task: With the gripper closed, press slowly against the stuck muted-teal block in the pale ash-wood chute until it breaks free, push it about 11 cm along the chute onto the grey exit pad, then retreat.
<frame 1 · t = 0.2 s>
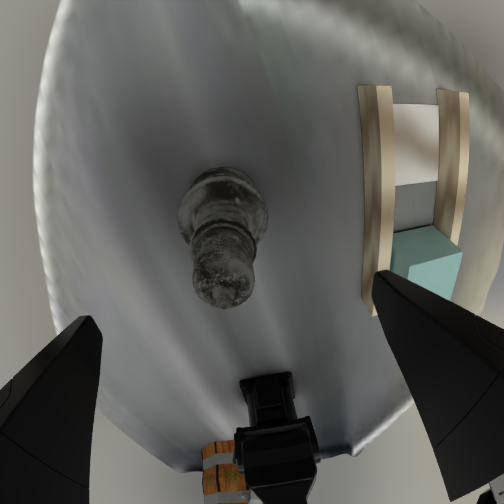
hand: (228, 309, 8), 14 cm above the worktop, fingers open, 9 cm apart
chute: (408, 198, 23), on the worktop
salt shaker: (222, 200, 22), on the worktop
mug: (238, 444, 45), on the worktop
jammed block: (418, 271, 24), point 3 cm above the worktop, slide at 0.0 cm
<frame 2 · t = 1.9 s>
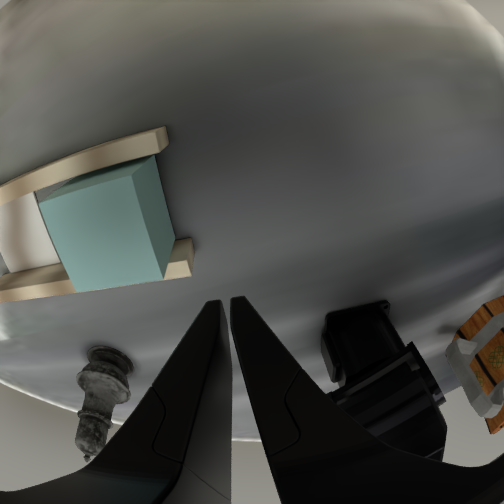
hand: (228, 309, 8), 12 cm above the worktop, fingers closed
chute: (59, 221, 19), on the worktop
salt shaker: (110, 361, 27), on the worktop
mug: (469, 330, 31), on the worktop
jammed block: (112, 222, 16), point 3 cm above the worktop, slide at 0.0 cm
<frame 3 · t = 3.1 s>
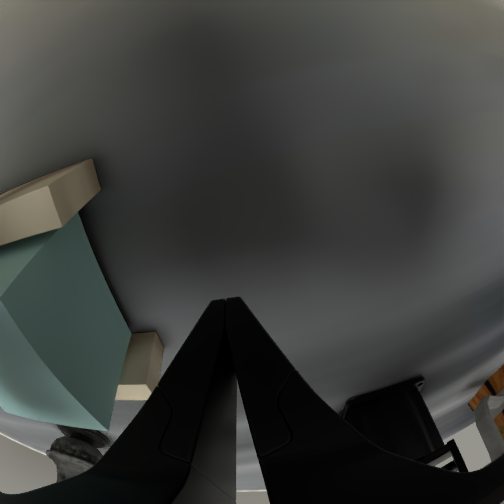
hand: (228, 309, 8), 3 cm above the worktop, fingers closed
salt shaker: (83, 431, 19), on the worktop
mug: (496, 377, 24), on the worktop
jammed block: (27, 326, 8), point 3 cm above the worktop, slide at 0.0 cm
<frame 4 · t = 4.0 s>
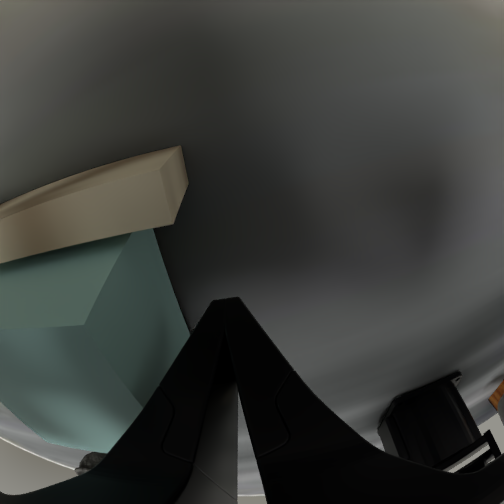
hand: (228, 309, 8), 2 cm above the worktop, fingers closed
chute: (14, 303, 10), on the worktop
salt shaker: (114, 445, 18), on the worktop
jammed block: (78, 345, 8), point 3 cm above the worktop, slide at 0.4 cm, touching gripper
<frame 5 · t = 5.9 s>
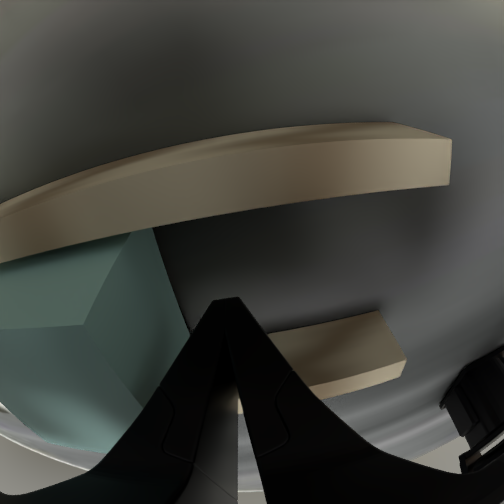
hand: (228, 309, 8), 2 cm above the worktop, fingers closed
chute: (126, 288, 10), on the worktop
jammed block: (78, 345, 8), point 3 cm above the worktop, slide at 7.1 cm, touching gripper
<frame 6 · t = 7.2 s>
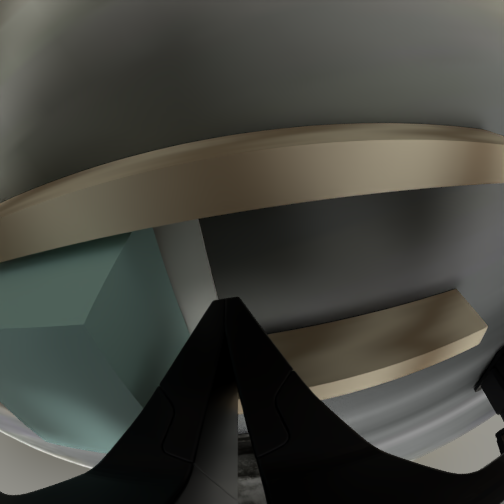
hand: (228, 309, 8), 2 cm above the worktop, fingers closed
chute: (254, 268, 10), on the worktop
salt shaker: (247, 444, 18), on the worktop
jammed block: (78, 345, 8), point 3 cm above the worktop, slide at 11.9 cm, touching gripper
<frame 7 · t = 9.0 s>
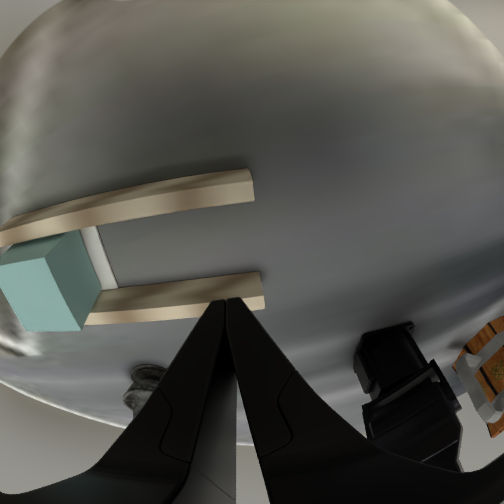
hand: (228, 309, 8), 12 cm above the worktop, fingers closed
chute: (122, 249, 20), on the worktop
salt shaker: (154, 377, 29), on the worktop
mug: (474, 345, 34), on the worktop
jammed block: (47, 279, 18), point 3 cm above the worktop, slide at 11.9 cm
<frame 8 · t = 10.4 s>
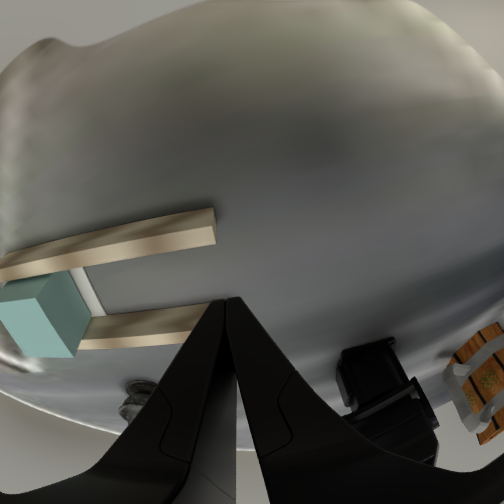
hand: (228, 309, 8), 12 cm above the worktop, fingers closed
chute: (106, 282, 22), on the worktop
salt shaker: (147, 391, 30), on the worktop
mug: (464, 352, 35), on the worktop
jammed block: (41, 311, 19), point 3 cm above the worktop, slide at 11.9 cm
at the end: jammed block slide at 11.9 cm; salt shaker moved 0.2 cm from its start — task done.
